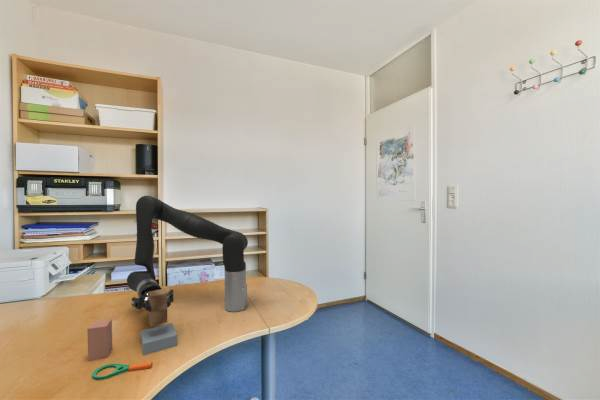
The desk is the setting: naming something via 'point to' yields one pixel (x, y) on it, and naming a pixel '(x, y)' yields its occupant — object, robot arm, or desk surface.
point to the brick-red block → (99, 339)
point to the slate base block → (158, 338)
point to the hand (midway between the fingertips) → (159, 306)
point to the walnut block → (157, 307)
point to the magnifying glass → (119, 369)
